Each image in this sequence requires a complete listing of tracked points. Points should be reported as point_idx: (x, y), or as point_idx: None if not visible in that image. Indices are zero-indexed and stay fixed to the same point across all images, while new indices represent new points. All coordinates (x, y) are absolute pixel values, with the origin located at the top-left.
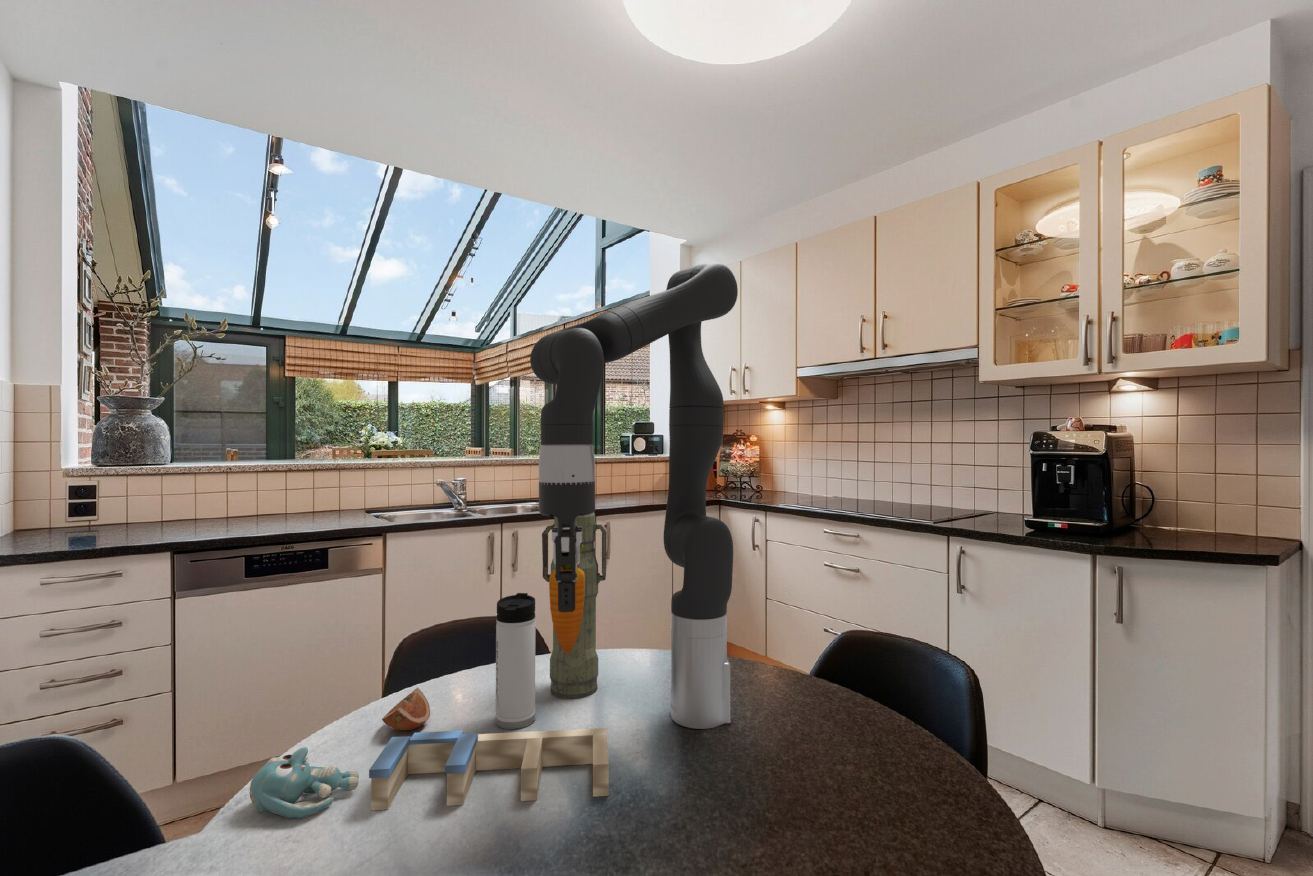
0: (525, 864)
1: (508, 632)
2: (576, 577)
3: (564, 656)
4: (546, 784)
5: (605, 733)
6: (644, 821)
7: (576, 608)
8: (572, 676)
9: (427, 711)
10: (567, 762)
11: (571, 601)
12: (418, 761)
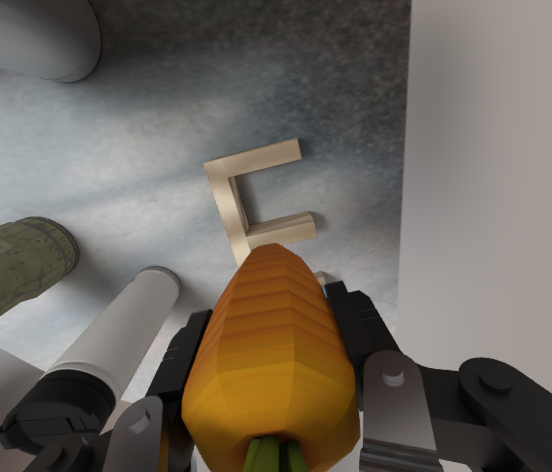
0: (401, 190)
1: (125, 380)
2: (494, 368)
3: (30, 281)
4: (280, 210)
5: (219, 161)
6: (337, 84)
7: (309, 281)
8: (52, 254)
9: None
10: (240, 200)
11: (373, 306)
12: None
